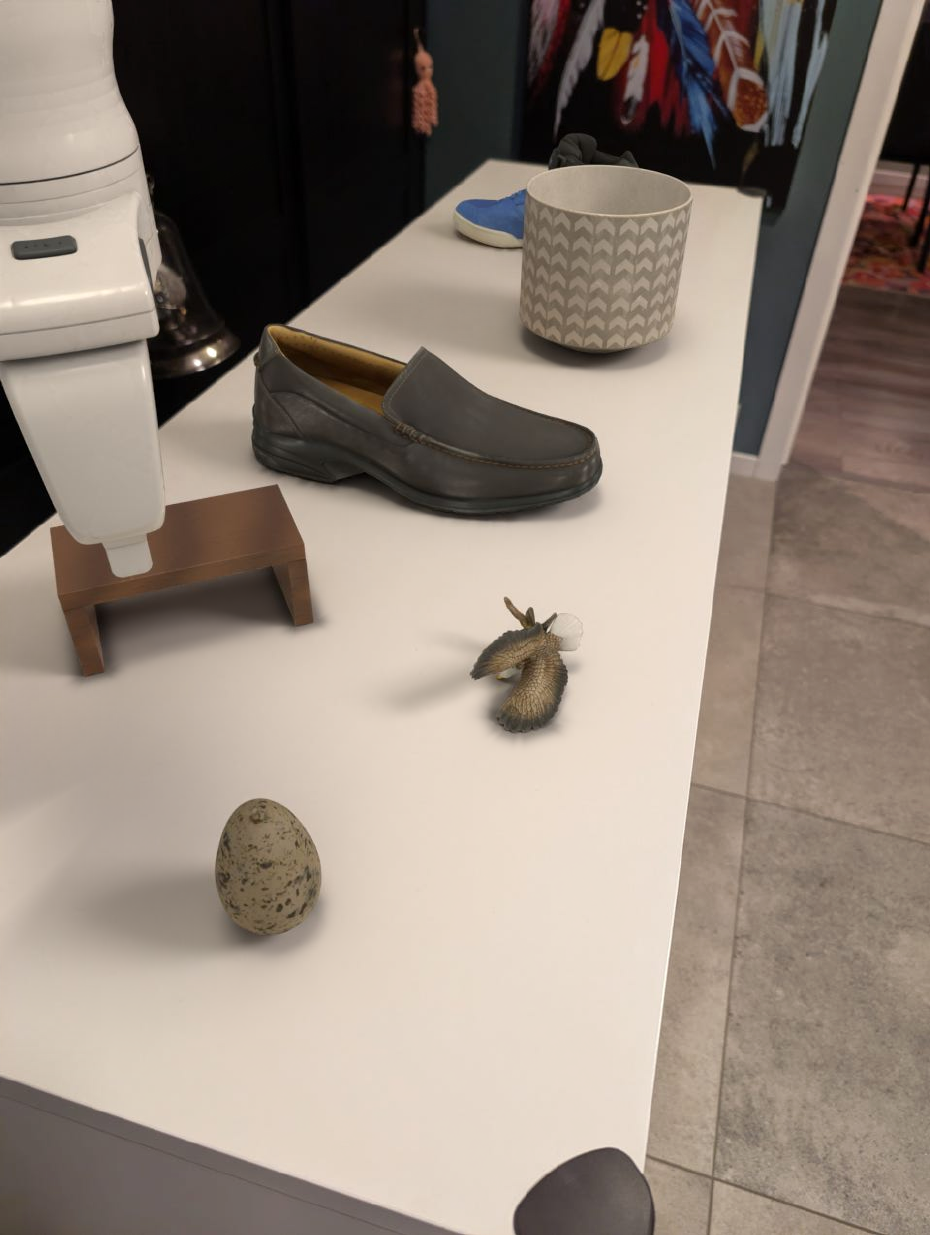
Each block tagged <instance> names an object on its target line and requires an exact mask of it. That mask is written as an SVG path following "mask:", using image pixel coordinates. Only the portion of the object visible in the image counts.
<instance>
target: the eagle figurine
mask: <svg viewBox="0 0 930 1235" xmlns="http://www.w3.org/2000/svg"><path fill="white" fill-rule="evenodd" d="M503 602H504V605H505V608H506V609H507V610H508V611H509V612H510V613H511V615H512V616H513V617H514V618H515V619H516V620H517V621H518V622H519V623H520V626H521V627H522V629H515V630H507V631H506V632H503V633H502V634H501V635H499V636H498V637H497V638H496V639H494V640H493V641H492V642H491V643H490V644H489V645H487V646H486V648H484V649H483V650H482V652H481V654H480V655H479V656H478V657H477V659H476V662H474V664H473V667H472V670H471V671H470V672H469V676H470V677H471V679H473V680H474V681H477V680H480V679H482V678H484V677H488V676H490V675H495V674H498V675H497V676H496V678H497V679H498V680H500V679H509V678H510V677H512V676H514V675H515V674H516V673H517V672H519V671H521V674H520V677H519V680H518V682H517V684H516V685H515V687H514V689H513V691H512V693H511V694H510V695H509V697H507V699H506V700H505V701H504V702H503V703H502V705H501V706H500V707H499V708H498V710H497V711H496V713H495V717H496V718H498V722H499V724H500V725H504V726H503V727H504V729H505V730H506V731H511V733H513V734H514V733H515V734H516V733H518V732H521V731H522V733H527V732H528V731H530V730H531V729H532V728H533V730H537V729H539V727H540V726H541V727H543V726H546V725H547V724H548V723H549V722H550V721H551V719H553V718H554V717H555V716H556V713H557V712H558V711H559V706H560V704H561V702H562V696H563V694H564V692H565V689H566V688H565V687H567V686H568V685H567V684H568V682H569V675H568V673H569V670H568V669H567V665H566V664H565V663H564V660H563V659H562V658H561V654H560V653H559V652H575V651H577V650H578V649H579V647H580V646H581V642H582V637H583V635H584V629H583V622H582V621H581V620H580V618H578V617H577V616H575V615H574V614H571V613H567V612H564V613H563V612H561V613H559V614H558V613H557V612H553V613H552V615H551V616H550V617H549V618H547V619H546V620H545V621H544V622H542V623H541V622H539V621H536V617H535V611H534V608H533V607H532V606H529V607H528V608H527V609H526V611H525V614H524V613H522V612H521V611H520V610H519V609H518V608H517V607H516V606H515V605H514V604H513V602H512V600H511V599H510V598H509V597H508V596H504V597H503ZM548 629H549V630H548Z"/></svg>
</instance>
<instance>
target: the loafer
mask: <svg viewBox="0 0 930 1235" xmlns="http://www.w3.org/2000/svg"><path fill="white" fill-rule="evenodd" d="M252 361H253V365H254V367H255V370H254V386H253V401H254V402H253V403H252V406H251V416H252V430H251V437H250V439H251V446H252V447H251V448H252V451H253V454H254V455H255V457H256V458H257V460H259V462H260V463H262V464H263V465H265V466H267V467H269V468H271V469H274V470H275V471H280V472H282V473H283V472H284V473H287V474H290V475H293V476H298V477H300V478H304V479H309V480H314V481H318V482H322V483H329V484H331V483H332V484H333V483H334V482H336V481H339V480H342V479H346V478H349V477H352V476H355V475H359V474H363V473H366V474H368V475H369V476H371V477H372V478H375V479H377V480H378V481H380V482H381V483H382V484H384V485H386V486H387V487H389V488H391V489H392V490H394V491H396V492H397V493H398V494H400V495H402V496H404V497H405V498H407V499H408V500H410V501H412V502H413V503H415V504H417V505H420V506H422V507H424V508H427V509H430V510H435V511H438V512H443V513H456V514H458V515H466V516H469V515H470V516H471V515H473V516H474V515H475V516H476V515H477V516H478V515H479V516H481V515H483V516H484V515H485V516H486V515H494V514H495V515H496V514H497V512H498V513H502V514H503V513H505V514H506V513H512V512H520V511H526V510H532V509H533V510H534V509H537V508H538V507H547V506H551V505H556V504H559V503H564V502H568V501H573V500H576V499H577V498H581V496H583V495H585V494H586V493H589V492H590V491H591V490H592V489H594V487H596V486H597V485H598V483H599V481H600V479H601V477H602V475H603V474H602V473H603V471H604V470H603V469H604V464H603V459H602V456H601V447H600V442H599V441H598V438H597V436H596V434H595V433H594V432H593V431H592V429H590V428H589V427H587V426H585V425H583V424H580V423H577V422H575V421H570V420H566V419H563V418H560V417H556V416H553V415H548V414H544V413H541V412H538V411H535V410H532V409H529V408H526V407H523V406H520V405H518V404H515V403H512V402H509V401H506V400H504V399H501V398H499V397H496V396H494V395H491V394H489V393H487V392H486V391H483V390H482V389H480V388H478V387H477V386H476V385H474V384H473V383H471V382H470V381H468V380H467V378H465V377H463V376H462V375H461V374H460V373H458V371H456V370H455V369H454V368H452V367H451V366H450V365H449V364H447V363H446V361H444V360H442V359H441V358H440V357H439V356H437V355H435V354H434V353H433V352H431V351H430V350H428V349H427V348H426V347H425V346H423V345H422V346H421V345H420V348H419V349H418V350H417V351H416V352H415V354H413V356H412V357H411V358H410V359H409V360H408V362H405V361H401V360H398V359H396V358H392V357H390V356H387V355H383V354H380V353H378V352H374V351H372V350H368V349H365V348H363V347H359V346H355V345H354V344H349V343H346V342H343V341H339V340H336V339H333V338H329V337H327V336H326V337H325V336H321V335H319V334H316V333H312V332H309V331H306V330H305V329H301V328H297V327H294V326H290V325H286V324H283V323H269V324H267V325H265V326H264V328H263V331H262V334H261V337H260V341H259V346H258V351H256V352H255V353H254V355H253V358H252Z"/></svg>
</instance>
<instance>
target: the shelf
mask: <svg viewBox="0 0 930 1235" xmlns="http://www.w3.org/2000/svg"><path fill="white" fill-rule="evenodd" d="M298 528H299V527H298V526H297V524H296V522H295V519H294V517H293V515H292V513H291V510H290V508H289V506H288V504H287V501H286V499H285V498H284V495H283V493H282V491H281V489H280V487H279V484H277V483H275V484H271V485H270V484H269V485H265V486H260V487H255V488H250V489H245V490H239V491H234V492H229V493H224V494H219V495H213V496H208V497H203V498H197V499H192V500H187V501H182V502H176V503H172V504H167V505H166V504H165V518H164V522H163V525H162V526H161V527H160V528H159V529H157V530H155V531H153V532H149V533H146V535H147V542H148V546H149V550H150V554H151V558H152V562H153V564H152V568H151V569H150V570H149V571H148V572H146V573H142V574H137V575H133V576H128V577H124V578H122V577H117V576H116V575H114V574H113V573H112V569H111V566H110V563H109V560H108V556H107V553H106V550H105V548H104V546H103V544H102V543H98V544H90V545H85V544H81V543H79V542H77V541H76V540H75V539H74V538H73V537H72V535H71V534H70V533H69V531H68V530H67V529H66V527H65V525H64V524H61V525H56V526H51V527H49V534H50V540H51V541H50V542H51V552H52V560H53V568H54V577H55V586H56V591H57V592H56V594H57V595H56V596H57V598H58V601H59V604H60V608H61V610H62V613H63V616H64V619H65V622H66V625H67V628H68V631H69V634H70V637H71V640H72V643H73V645H74V649H75V652H76V655H77V658H78V662H79V664H80V666H81V670H82V672H83V675H84V677H87V676H92V675H96V674H100V673H104V672H105V671H106V669H105V663H104V657H103V650H102V645H101V644H102V643H101V639H100V632H99V625H98V618H97V613H96V612H97V611H96V607H95V606H96V605H97V604H102V603H106V602H111V601H115V600H121V599H125V598H129V597H134V596H139V595H143V594H148V593H152V592H157V591H162V590H167V589H172V588H175V587H176V588H177V587H180V586H185V585H191V584H195V583H199V582H203V581H208V580H209V581H210V580H213V579H219V578H222V577H227V576H232V575H237V574H242V573H245V572H250V571H255V570H259V569H264V568H268V567H272V570H273V573H274V576H275V577H276V580H277V583H278V585H279V587H280V591H281V593H282V594H283V597H284V601H285V603H286V605H287V608H288V611H289V612H290V615H291V618H292V620H293V622H294V625H295V627H300V626H304V625H307V624H312V623H314V613H313V612H314V611H313V604H312V596H311V587H310V579H309V570H308V562H307V561H308V560H307V552H306V546H305V542H304V539H303V537H302V535H301V533H300V531H299V529H298Z"/></svg>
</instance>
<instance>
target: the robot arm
mask: <svg viewBox="0 0 930 1235" xmlns="http://www.w3.org/2000/svg"><path fill="white" fill-rule="evenodd" d="M114 27H115V16H114V8H113V2H112V0H0V382H1V386H2V387H3V391H4V393H5V396H6V398H7V400H8V402H9V405H10V408H11V411H12V412H13V415H14V417H15V420H16V422H17V424H18V426H19V429H20V431H21V434H22V437H23V438H24V441H25V443H26V445H27V448H28V450H29V452H30V454H31V457H32V459H33V461H34V465H35V466H36V468H37V470H38V472H39V475H40V478H41V479H42V482H43V484H44V486H45V488H46V491H47V492H48V495H49V497H50V499H51V501H52V504H53V506H54V508H55V511H56V513H57V515H58V516H59V518H60V521H61V522H62V525H65V527H66V529H67V530H68V531H69V533H70V534H71V535H72V537H73V538H74V539H75V540H76V541H77V542H79V543H81V544H85V545H90V544H98V543H102V544H103V546H104V548H105V550H106V553H107V556H108V560H109V563H110V566H111V569H112V573H113V574H114V575H116V576H117V577H122V578H124V577H128V576H133V575H137V574H142V573H146V572H148V571H149V570H150V569H151V568H152V564H153V562H152V558H151V554H150V550H149V546H148V542H147V535H146V533H149V532H153V531H155V530H157V529H159V528H160V527H161V526H162V525H163V522H164V518H165V506H166V486H165V477H164V476H165V475H164V469H163V468H164V467H163V458H162V449H161V442H160V433H159V426H158V425H159V423H158V416H157V408H156V400H155V392H154V382H153V375H152V367H151V359H150V352H149V347H148V342H147V339H150V338H155V337H156V336H158V334H159V332H160V324H159V313H158V307H157V302H156V297H155V286H156V285H155V284H156V280H157V275H158V270H159V269H160V266H161V264H162V260H163V256H162V250H161V245H160V240H159V235H158V230H157V225H156V220H155V214H154V209H153V205H152V204H153V203H152V201H151V195H150V190H149V184H148V179H147V176H146V171H145V165H144V160H143V159H144V158H143V154H142V148H141V144H140V138H139V135H138V131H137V128H136V124H135V123H134V120H133V119H132V117H131V114H130V113H129V111H128V109H127V107H126V103H125V101H124V100H123V97H122V95H121V92H120V88H119V85H118V80H117V78H116V72H115V64H114V55H113V54H114V53H113V52H114V47H113V46H114V45H113V44H114V42H113V41H114Z"/></svg>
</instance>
